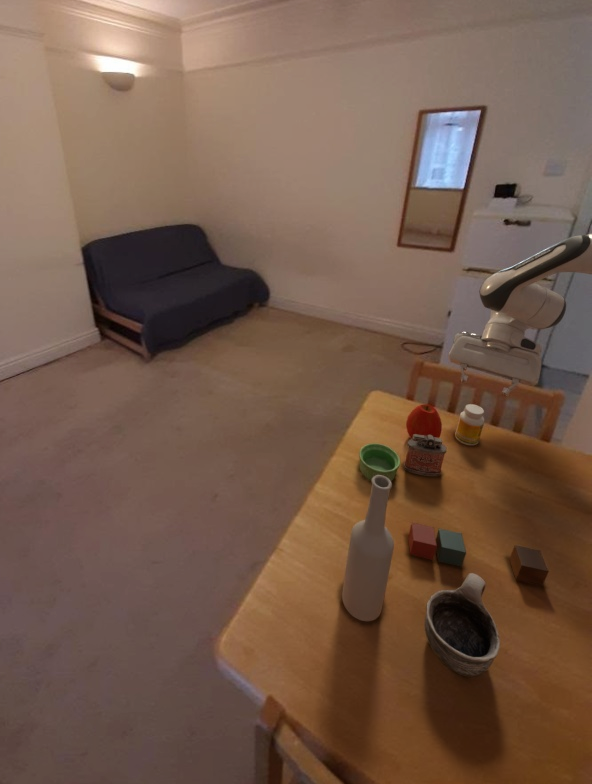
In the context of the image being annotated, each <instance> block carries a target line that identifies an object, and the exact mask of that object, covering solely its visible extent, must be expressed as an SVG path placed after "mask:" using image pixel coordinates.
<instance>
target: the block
mask: <svg viewBox="0 0 592 784" xmlns="http://www.w3.org/2000/svg"><path fill="white" fill-rule="evenodd" d="M435 537H436V543H437V547H436V551H435V553H436V558H437V562H441V563H444V564H449V565H452V566H457V567H463V564H464V560H465V557H466V555H467V549H466V545H465V541H464V537H463V533H462V532H458V531H452V530H448V529H445V528H438V529H437V533H436V536H435Z"/></svg>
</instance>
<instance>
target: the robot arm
mask: <svg viewBox="0 0 592 784" xmlns="http://www.w3.org/2000/svg"><path fill="white" fill-rule="evenodd" d="M559 273H579V274H588V275H592V233H589V234H581V235H580V234H579V235H574V236H571V237H568V238H565V239H563V240H561V241H559V242H557V243H555V244H553V245H551V246H549V247H547V248H546V249H543V250H542V251H539V252H537V253H535V254H534V255H532V256H530V257H527V258H526V259H524V260H522V261H520V262H518V263H516V264H515V265H512V266H510V267H507V268H504V269H500V270H498V271H496V272H494V273H492V274H490V275H489V276H487V278H485V280H483V282H482V283H481V285H480V287H479V291H478V292H479V298H480V301H481V303H482V305H483V307H484V308H485V309H488V310H490V317H489V318H490V319H489V320H488V321H487V322H486V323H485V327H484V329H483V331H482V334H476V333H471V332H468V331H463V332H458V333H456V334H455V336H454V338H453V344H452V347H451V348H450V351H449V353H448V360H449V362H450V363H452V364H454V365H455V364H456V365H459V369H460V374H461V376H460V381H459V382H460V383H463V384H467V383H468V381H469V379H470V378H469V375H468V374H467V375H466V372H465V371H467V369H472V370H475V371H478V372H482V373H486V374H489V375H493V376H496V377H499V378H502V379H506V380H509V381H511V385H510V386H508V387H506V386H503V388H502V391H501V396H504V397H508V398H509V395H510V393H511V391H513V390H515V389H516V388H518V386H519V384H523V385H525V386H529V387H534V386H536V385H538V383H539V380H540V375H541V371H542V358H541V355H542V345H541V344H540V343H538V342H536V341H534V340H533V339H531V338H528V337H526V336H525V335H526V331H527V330H528V329H531V330H545V329H546V330H547V329H549V328H552V327H554V326H557V325H558V324H560V322H561V321H562V320H563V318H564V316H565V314H566V310H567V301H566V299H565V297H564V296H563V295H561V294H560V293H558V292H556V291H554V290H552V289H550V288H547V287H545V286H542V285H540V284H538V283H537V282H539V281H541V280H544V279H546V278H548V277H550V276H553V275H557V274H559Z"/></svg>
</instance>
